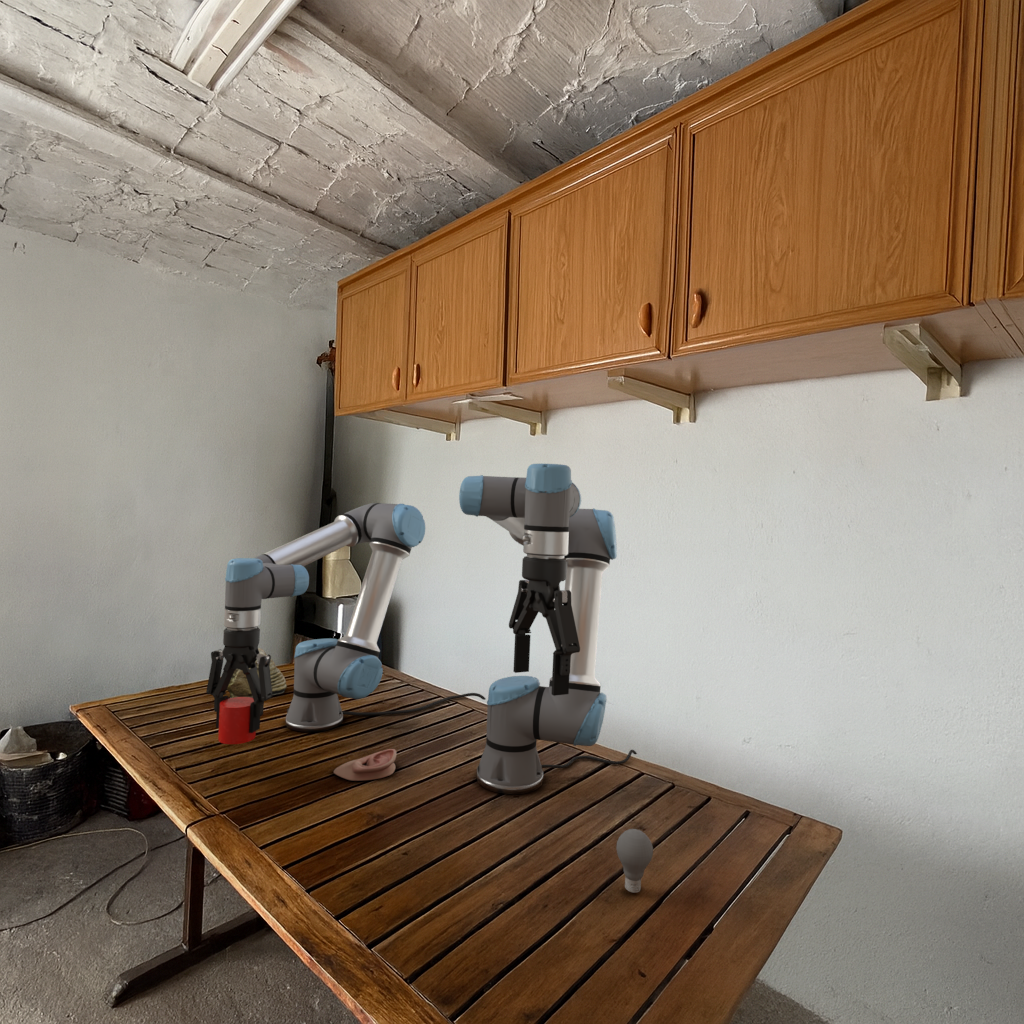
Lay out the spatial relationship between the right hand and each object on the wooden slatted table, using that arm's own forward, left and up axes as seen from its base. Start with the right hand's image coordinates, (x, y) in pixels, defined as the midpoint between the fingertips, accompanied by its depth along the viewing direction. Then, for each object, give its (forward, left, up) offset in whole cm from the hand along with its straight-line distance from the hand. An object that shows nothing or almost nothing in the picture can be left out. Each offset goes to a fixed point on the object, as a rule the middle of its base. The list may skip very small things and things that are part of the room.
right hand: (539, 682), depth 106 cm
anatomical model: (+16, -52, -34) cm, 64 cm away
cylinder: (+43, -61, -26) cm, 79 cm away
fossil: (+35, -119, -34) cm, 128 cm away
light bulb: (-15, +9, -34) cm, 38 cm away
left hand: (+43, -61, -24) cm, 78 cm away
